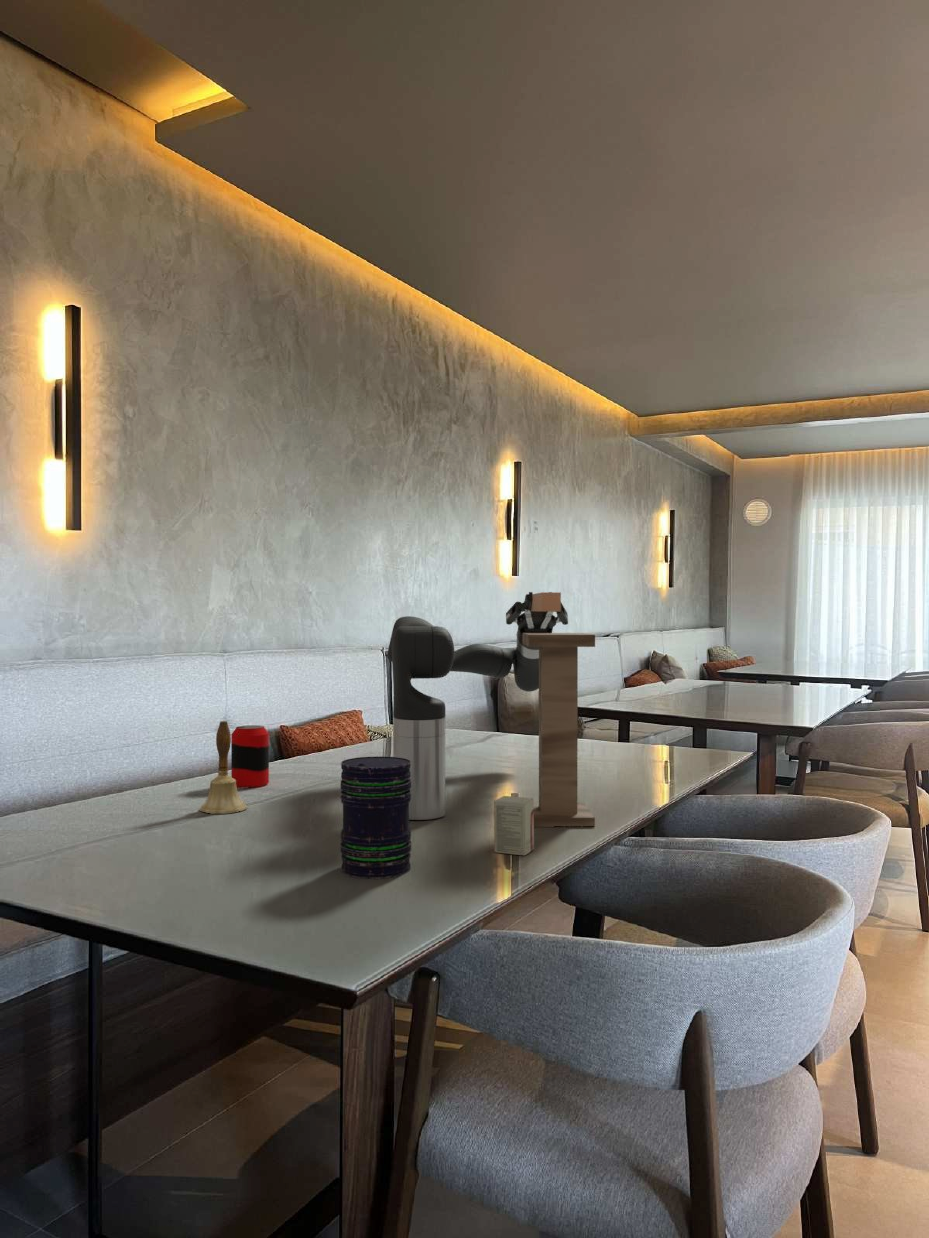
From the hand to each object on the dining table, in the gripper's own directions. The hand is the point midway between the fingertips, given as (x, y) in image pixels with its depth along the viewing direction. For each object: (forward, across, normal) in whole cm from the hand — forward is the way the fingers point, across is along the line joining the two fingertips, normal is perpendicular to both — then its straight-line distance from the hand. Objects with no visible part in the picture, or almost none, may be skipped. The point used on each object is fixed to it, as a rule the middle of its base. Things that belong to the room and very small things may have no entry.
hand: (540, 595), depth 193 cm
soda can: (-22, +60, -33) cm, 72 cm away
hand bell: (-1, +60, -45) cm, 75 cm away
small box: (+26, +9, -60) cm, 66 cm away
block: (+5, 0, -6) cm, 8 cm away
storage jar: (+34, +29, -65) cm, 79 cm away
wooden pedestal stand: (+6, 0, -49) cm, 49 cm away
